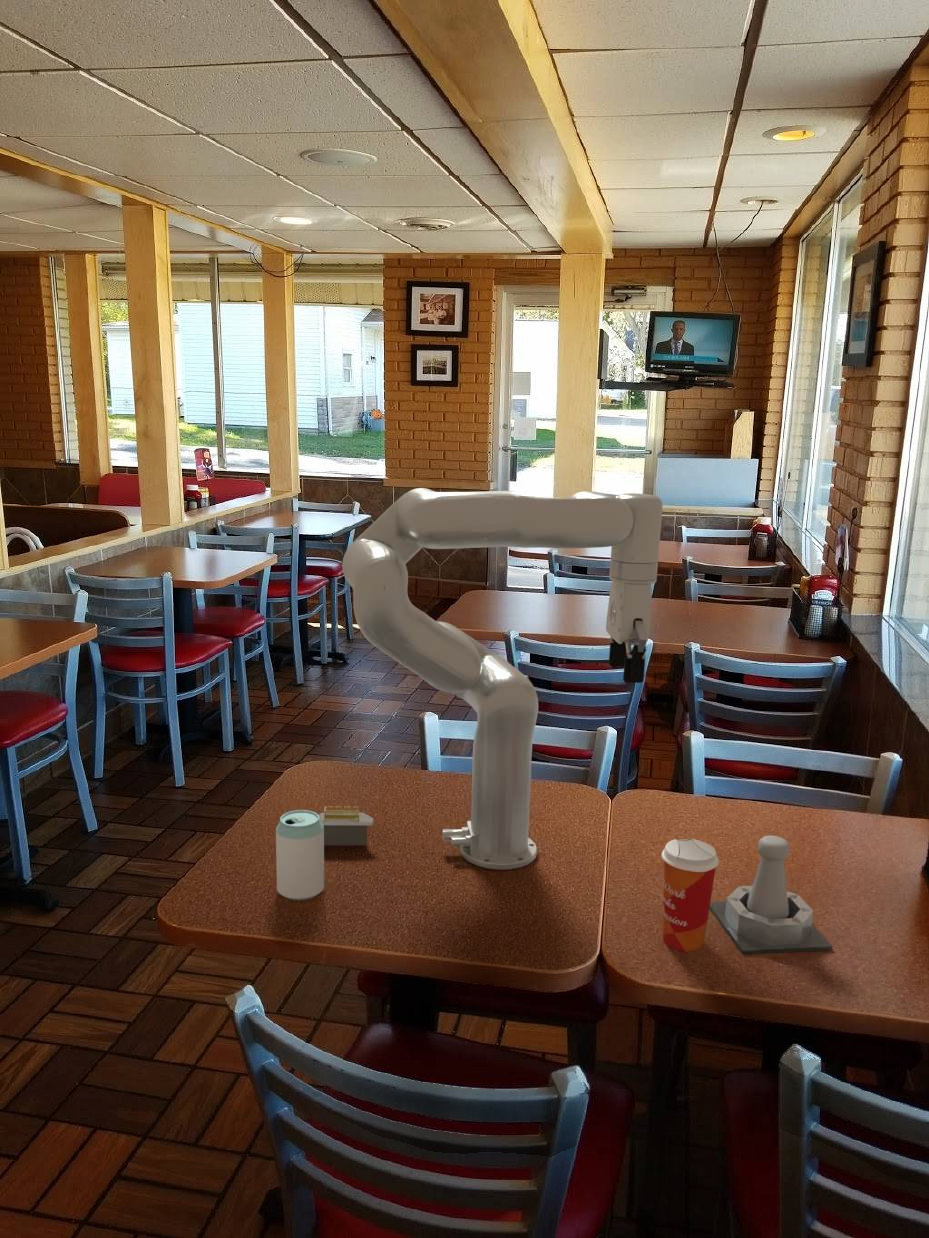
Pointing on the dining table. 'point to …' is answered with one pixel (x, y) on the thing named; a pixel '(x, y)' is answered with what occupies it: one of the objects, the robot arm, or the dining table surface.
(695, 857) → the paper cup
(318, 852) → the can
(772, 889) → the grey peg
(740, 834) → the dining table surface
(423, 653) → the robot arm
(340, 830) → the platform
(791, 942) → the ring collar
